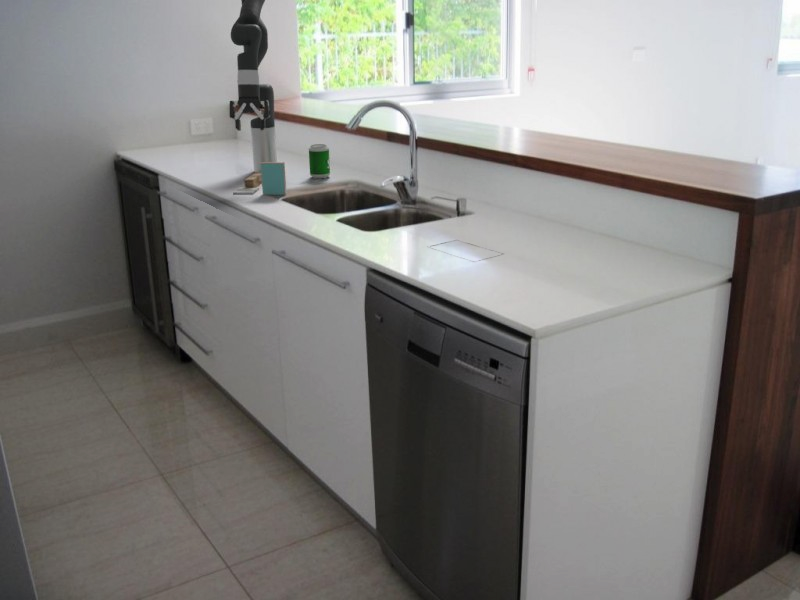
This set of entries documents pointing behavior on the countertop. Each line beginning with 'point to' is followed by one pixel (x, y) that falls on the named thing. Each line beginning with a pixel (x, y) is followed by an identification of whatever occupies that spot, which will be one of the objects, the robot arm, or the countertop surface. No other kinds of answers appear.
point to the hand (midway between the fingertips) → (250, 130)
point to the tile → (273, 178)
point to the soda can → (319, 161)
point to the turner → (250, 184)
